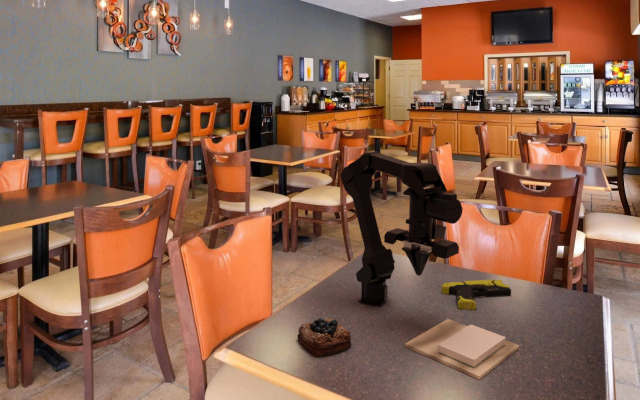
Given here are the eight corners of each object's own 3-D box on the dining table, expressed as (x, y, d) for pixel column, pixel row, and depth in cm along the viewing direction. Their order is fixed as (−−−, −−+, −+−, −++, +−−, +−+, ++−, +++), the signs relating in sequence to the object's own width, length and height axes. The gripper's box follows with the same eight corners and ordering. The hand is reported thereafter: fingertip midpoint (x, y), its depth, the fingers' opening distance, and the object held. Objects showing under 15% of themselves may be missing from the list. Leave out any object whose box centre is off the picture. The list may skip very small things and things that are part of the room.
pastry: (315, 361, 112) (315, 337, 111) (292, 338, 122) (291, 316, 121) (357, 349, 117) (357, 326, 116) (331, 328, 127) (331, 306, 126)
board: (405, 346, 117) (405, 343, 117) (447, 321, 129) (447, 318, 129) (479, 379, 104) (479, 376, 104) (519, 348, 116) (519, 345, 116)
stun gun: (525, 299, 137) (500, 278, 151) (457, 302, 135) (439, 281, 149) (524, 308, 138) (500, 287, 152) (457, 312, 136) (438, 290, 150)
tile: (438, 344, 113) (474, 360, 106) (470, 324, 122) (505, 337, 116) (437, 352, 113) (473, 368, 107) (470, 331, 122) (505, 344, 116)
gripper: (472, 215, 122) (469, 276, 125) (409, 203, 135) (408, 258, 138) (447, 224, 114) (444, 288, 118) (383, 210, 127) (382, 268, 131)
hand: (419, 275), depth 126 cm, fingers closed
